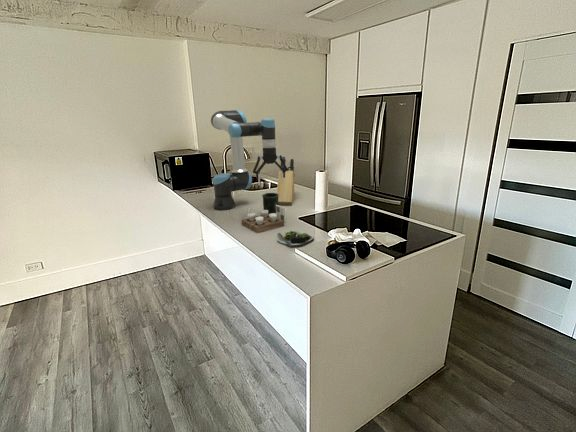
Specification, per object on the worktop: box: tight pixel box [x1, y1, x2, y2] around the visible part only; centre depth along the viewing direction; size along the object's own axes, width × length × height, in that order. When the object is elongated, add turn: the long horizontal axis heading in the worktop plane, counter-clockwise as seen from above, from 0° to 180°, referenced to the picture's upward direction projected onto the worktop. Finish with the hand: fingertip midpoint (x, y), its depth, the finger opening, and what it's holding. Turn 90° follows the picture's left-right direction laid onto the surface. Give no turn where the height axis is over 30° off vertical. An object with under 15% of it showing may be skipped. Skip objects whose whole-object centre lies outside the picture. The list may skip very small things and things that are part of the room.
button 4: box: [269, 213, 277, 222], centre depth 181 cm, size 4×4×5 cm
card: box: [276, 204, 287, 223], centre depth 190 cm, size 9×4×9 cm, turn 36°
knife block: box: [276, 156, 296, 206], centre depth 231 cm, size 11×35×31 cm, turn 174°
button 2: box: [256, 215, 264, 226], centre depth 176 cm, size 4×4×5 cm
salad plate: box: [276, 230, 314, 248], centre depth 160 cm, size 19×18×5 cm
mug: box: [261, 192, 280, 214], centre depth 206 cm, size 11×15×12 cm
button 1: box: [247, 212, 256, 222], centre depth 183 cm, size 4×4×5 cm
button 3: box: [260, 209, 268, 219], centre depth 188 cm, size 4×4×5 cm
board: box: [241, 214, 285, 234], centre depth 183 cm, size 18×18×3 cm
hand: (271, 184), depth 183 cm, fingers open, 13 cm apart
